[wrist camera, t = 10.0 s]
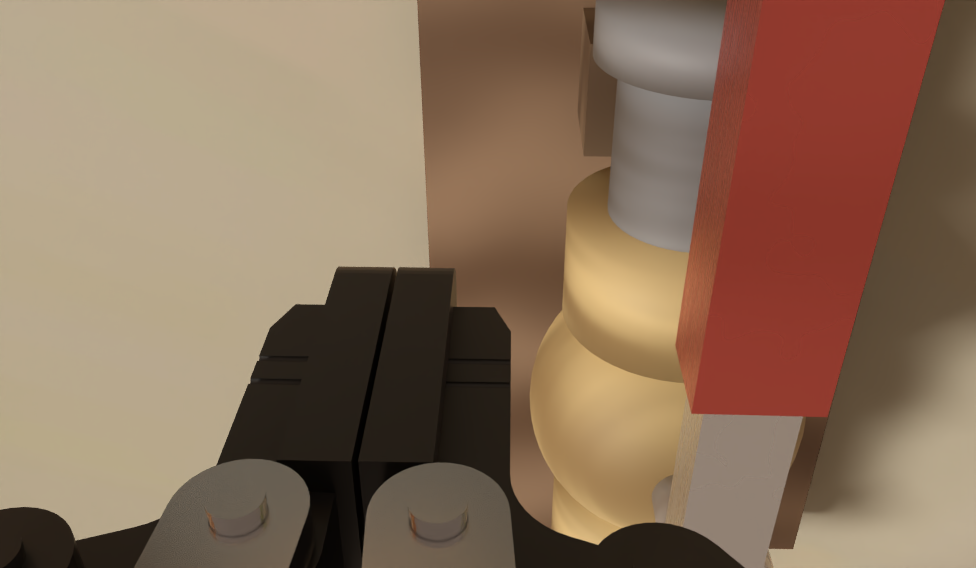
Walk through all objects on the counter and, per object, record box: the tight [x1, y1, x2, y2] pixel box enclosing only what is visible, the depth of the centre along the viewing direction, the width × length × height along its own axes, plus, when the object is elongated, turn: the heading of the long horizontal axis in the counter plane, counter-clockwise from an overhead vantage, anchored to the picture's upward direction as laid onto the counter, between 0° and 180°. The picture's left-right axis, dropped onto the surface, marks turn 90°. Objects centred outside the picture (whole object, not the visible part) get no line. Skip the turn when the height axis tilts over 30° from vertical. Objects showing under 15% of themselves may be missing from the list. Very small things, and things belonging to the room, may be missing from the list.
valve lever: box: [665, 0, 945, 568], centre depth 17 cm, size 16×3×2 cm, turn 0°
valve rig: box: [417, 0, 842, 549], centre depth 26 cm, size 24×14×12 cm, turn 0°
